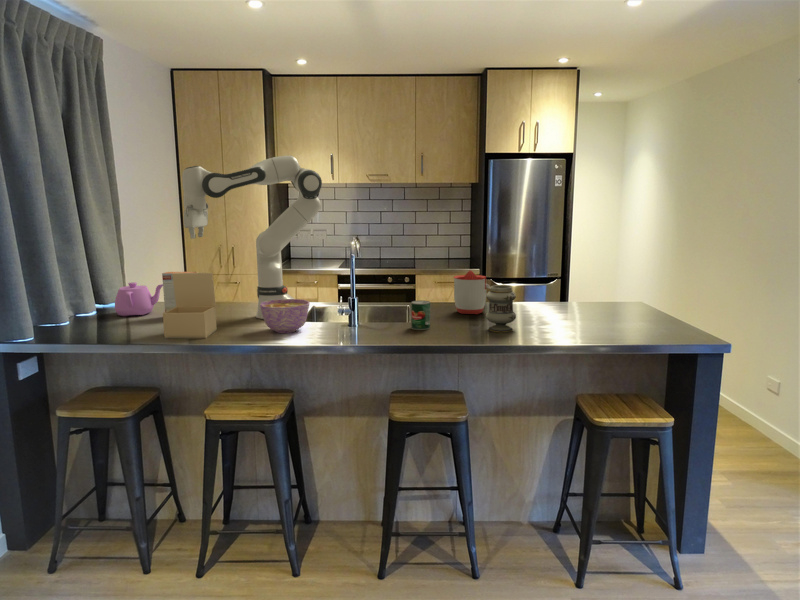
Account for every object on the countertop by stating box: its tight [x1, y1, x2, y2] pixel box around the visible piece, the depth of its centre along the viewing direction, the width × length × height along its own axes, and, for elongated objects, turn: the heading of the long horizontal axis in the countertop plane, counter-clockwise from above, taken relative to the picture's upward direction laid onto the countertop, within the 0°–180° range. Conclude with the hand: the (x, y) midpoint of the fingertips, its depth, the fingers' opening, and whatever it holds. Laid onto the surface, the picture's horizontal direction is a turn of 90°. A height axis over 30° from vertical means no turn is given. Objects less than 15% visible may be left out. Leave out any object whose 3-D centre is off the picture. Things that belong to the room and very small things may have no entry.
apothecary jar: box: [485, 284, 517, 333], centre depth 237 cm, size 12×12×18 cm
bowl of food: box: [260, 298, 310, 334], centre depth 237 cm, size 20×20×12 cm
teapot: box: [114, 282, 163, 317], centre depth 273 cm, size 23×21×15 cm
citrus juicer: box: [453, 270, 491, 315], centre depth 273 cm, size 16×17×20 cm
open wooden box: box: [162, 306, 218, 339], centre depth 232 cm, size 16×14×10 cm
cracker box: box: [161, 271, 198, 313], centre depth 266 cm, size 14×6×21 cm, turn 84°
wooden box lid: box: [172, 272, 217, 307], centre depth 239 cm, size 16×14×5 cm
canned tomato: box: [410, 299, 431, 331], centre depth 241 cm, size 8×8×11 cm
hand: (197, 237), depth 249 cm, fingers open, 8 cm apart
